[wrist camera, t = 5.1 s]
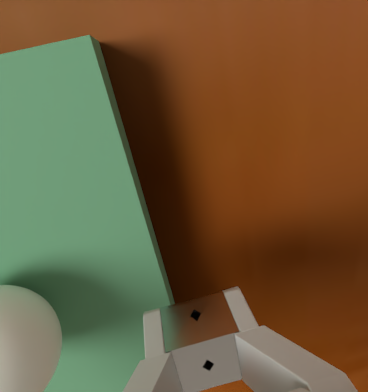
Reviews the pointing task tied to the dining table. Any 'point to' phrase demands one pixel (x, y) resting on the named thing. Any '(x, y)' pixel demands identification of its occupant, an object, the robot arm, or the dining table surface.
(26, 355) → the ball
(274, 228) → the dining table surface
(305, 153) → the dining table surface
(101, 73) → the putting strip
